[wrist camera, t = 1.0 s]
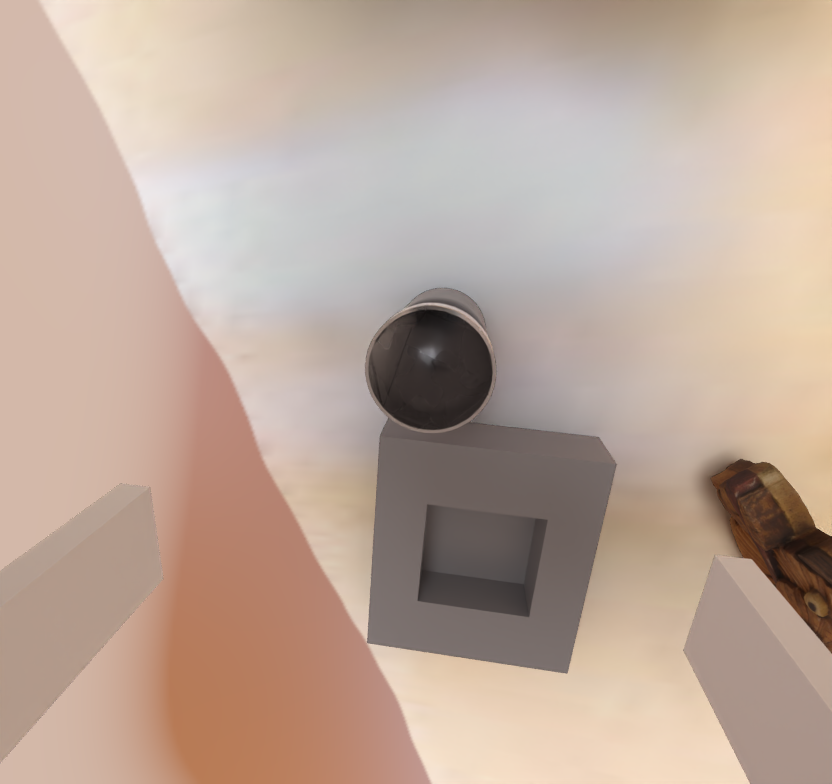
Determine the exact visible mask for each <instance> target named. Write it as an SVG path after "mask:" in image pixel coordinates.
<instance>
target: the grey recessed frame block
mask: <svg viewBox="0 0 832 784" xmlns="http://www.w3.org/2000/svg"><path fill="white" fill-rule="evenodd" d="M615 468H616V463H615V461H614V460H613V458H612V457H611V455H610V454H609V452H608V451H607V449H606V448H605V446H604V445H603V443H602V442H601V440H600V439H599V437H592V436H583V435H574V434H566V433H557V432H548V431H539V430H530V429H522V428H513V427H504V426H495V425H487V424H478V423H469V422H468V423H466V424H465V425H463V426H461V427H459V428H457V429H454V430H451V431H447V432H441V433H423V432H417V431H413V430H410V429H407V428H405V427H403V426H401V425H399V424H397V423H396V422H394V421H393V420H391V419H390V418H389V417H388V420H387V422H386V424H385V426H384V428H383V431H382V433H381V435H380V442H379V459H378V475H377V491H376V508H375V524H374V540H373V556H372V573H371V589H370V605H369V622H368V638H367V643H370V644H376V645H383V646H390V647H396V648H403V649H409V650H416V651H422V652H429V653H436V654H442V655H449V656H455V657H462V658H468V659H475V660H481V661H488V662H495V663H501V664H508V665H514V666H521V667H527V668H534V669H541V670H547V671H554V672H560V673H568V669H569V664H570V660H571V656H572V652H573V647H574V643H575V639H576V635H577V630H578V626H579V622H580V617H581V613H582V609H583V605H584V600H585V596H586V592H587V588H588V583H589V579H590V575H591V571H592V566H593V562H594V558H595V554H596V549H597V545H598V541H599V537H600V532H601V528H602V524H603V520H604V515H605V511H606V507H607V503H608V498H609V494H610V490H611V485H612V481H613V477H614V473H615Z"/></svg>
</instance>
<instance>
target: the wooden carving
mask: <svg viewBox="0 0 832 784" xmlns="http://www.w3.org/2000/svg"><path fill="white" fill-rule="evenodd" d="M711 480H712V483H713V485H714V486H715V487H716V489H717V494H718V497H719V499H720V501H721V502H722V504H723V506H724V507H725V509H726V510H727V511H728V512H729V513H730V514H731V515H732V516H731V518H730V525H731V528H732V532H733V535H734V537H735V540H736V542H737V545H738V547H739V549H740V552H741V553H742V556H743V557H744V558H746V559H752V560H753V561H754V563H755V564H756V565H757V566H758V567H759V568H760V570H761V571H762V572H763V573H764V574H765V576H766V577H767V578H768V579H769V580H770V581H771V583H772V584H773V585H774V586H775V587H776V589H777V590H778V591H779V592H780V593H781V594H782V596H783V597H784V598H785V599H786V600H787V602H788V603H789V604H790V605H791V606H792V607H793V609H794V610H795V611H796V612H797V613H798V615H799V616H800V617H801V618H802V619H803V620H804V622H805V623H806V624H807V625H808V626H809V628H810V629H811V630H812V631H813V632H814V633H815V635H816V636H817V637H818V638H819V639H820V641H821V642H822V643H823V644H824V645H825V646H826V648H827V649H828V650H829V651H830V652H831V654H832V536H829V535H827V534H825V533H824V532H822V531H820V530H819V529H817V528H816V527H815V524H814V521H813V519H812V517H811V516H810V514H809V512H808V509H807V507H806V506H805V504H804V503H803V502H802V500H801V498H800V496H799V495H798V493H797V492H796V491H795V489H794V488H793V487H792V486H791V485H790V483H789V482H788V481H787V480H786V479H785V478H784V477H783V475H782V474H781V473H780V471H779V470H778V469H777V468H775V467H774V466H773V465H771V464H770V463H766V462H761V463H756V464H755V463H752V462H750V461H746V460H743V459H740V460H738V461H737V462H735V463H734V464H732V465H730V466H729V467H727V468H726V470H725V471H723V472H721V473H719V474H717V475H715V476H713V477H711Z"/></svg>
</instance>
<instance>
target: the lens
mask: <svg viewBox="0 0 832 784" xmlns="http://www.w3.org/2000/svg"><path fill="white" fill-rule="evenodd" d="M365 375H366V381H367V385H368V388H369V391H370V393H371V396H372V398H373V399H374V401H375V403H376V404H377V406H378V407H379V408H380V409H381V411H382V412H383V413H384V414H385V415H386V416H387V417H389V418H390V419H391V420H393V421H394V422H396V423H397V424H399V425H401V426H403V427H405V428H407V429H410V430H413V431H417V432H423V433H441V432H447V431H451V430H454V429H457V428H459V427H461V426H463V425H465V424H466V423H468V422H470V421H471V420H472V419H473V418H475V417H476V416H477V415H478V414H479V413H480V412H481V411H482V410H483V408H484V407H485V405H486V404H487V402H488V401H489V399H490V397H491V394H492V392H493V389H494V385H495V380H496V361H495V357H494V352H493V348H492V345H491V342H490V340H489V338H488V336H487V332H486V326H485V321H484V317H483V315H482V312H481V310H480V309H479V307H478V306H477V304H476V303H475V302H474V301H473V300H472V299H471V298H470V297H469V296H467V295H466V294H464V293H462V292H460V291H458V290H454V289H450V288H435V289H431V290H428V291H425V292H423V293H421V294H420V295H418V296H417V297H416V298H414V299H413V300H412V301H411V302H410V303H409V304H408V305H407V306H406V307H405V308H404V309H403V310H401V311H399V312H398V313H396V314H395V315H394V316H392V317H391V318H390V319H389V320H388V321H387V322H386V323H385V324H384V325H383V326H382V327H381V328H380V329H379V330H378V332H377V333H376V334H375V336H374V338H373V339H372V341H371V343H370V346H369V348H368V352H367V356H366V363H365Z"/></svg>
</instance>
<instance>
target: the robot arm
mask: <svg viewBox="0 0 832 784" xmlns="http://www.w3.org/2000/svg"><path fill="white" fill-rule="evenodd" d="M162 579H163V573H162V566H161V559H160V552H159V545H158V538H157V531H156V524H155V517H154V510H153V503H152V496H151V489H150V487H146V486H138V485H129V484H119V485H118V486H116V487H115V488H114V489H112V490H111V491H110V492H108V493H107V494H105V495H104V496H103V497H101V498H100V499H99V500H97V501H96V502H94V503H93V504H92V505H90V506H89V507H87V508H86V509H85V510H83V511H82V512H81V513H79V514H78V515H76V516H75V517H74V518H72V519H71V520H70V521H68V522H67V523H65V524H64V525H63V526H61V527H60V528H59V529H57V530H56V531H54V532H53V533H52V534H50V535H49V536H48V537H46V538H45V539H43V540H42V541H41V542H39V543H38V544H36V545H35V546H34V547H32V548H31V549H29V550H28V551H27V552H25V553H24V554H23V555H21V556H20V557H19V558H17V559H16V560H14V561H13V562H12V563H10V564H9V565H7V566H6V567H5V568H3V569H2V570H1V571H0V763H1V762H2V761H3V760H4V759H5V758H6V757H7V755H8V754H9V753H10V752H11V751H12V750H13V749H14V747H15V746H16V745H17V744H18V743H19V742H20V740H22V738H23V737H24V736H25V735H26V734H27V733H28V732H29V730H30V729H31V728H32V727H33V726H34V725H35V724H36V723H37V721H38V720H39V719H40V718H41V717H42V716H43V715H44V713H45V712H46V711H47V710H48V709H49V708H50V707H51V706H52V704H53V703H54V702H55V701H56V700H57V699H58V697H59V696H60V695H61V694H62V693H63V692H64V691H65V690H66V688H67V687H68V686H69V685H70V684H71V683H72V682H73V681H74V679H75V678H76V677H77V676H78V675H79V674H80V673H81V672H82V670H83V669H84V668H85V667H86V666H87V665H88V664H89V662H90V661H91V660H92V659H93V658H94V657H95V656H96V655H97V653H98V652H99V651H100V650H101V649H102V648H103V647H104V645H105V644H106V643H107V642H108V641H109V640H110V639H111V638H112V636H113V635H114V634H115V633H116V632H117V631H118V630H119V628H120V627H121V626H122V625H123V624H124V623H125V622H126V621H127V619H128V618H129V617H130V616H131V615H132V614H133V613H134V611H135V610H136V609H137V608H138V607H139V606H140V605H141V603H142V602H143V601H144V600H145V599H146V598H147V597H148V596H149V595H150V593H151V592H152V591H153V590H154V589H155V588H156V586H157V585H158V584H159V583H160V582H161V581H162ZM683 651H684V653H685V655H686V656H687V658H688V660H689V662H690V664H691V666H692V668H693V670H694V672H695V674H696V676H697V678H698V680H699V682H700V684H701V686H702V688H703V690H704V692H705V694H706V696H707V698H708V700H709V702H710V704H711V706H712V708H713V710H714V712H715V714H716V716H717V718H718V720H719V722H720V724H721V726H722V728H723V730H724V732H725V734H726V736H727V738H728V740H729V742H730V744H731V746H732V748H733V750H734V752H735V754H736V756H737V758H738V760H739V762H740V764H741V766H742V768H743V770H744V772H745V774H746V776H747V778H748V780H749V782H750V784H832V654H831V652H830V651H829V650H828V649H827V648H826V646H825V645H824V644H823V643H822V642H821V641H820V639H819V638H818V637H817V636H816V635H815V633H814V632H813V631H812V630H811V629H810V628H809V626H808V625H807V624H806V623H805V622H804V620H803V619H802V618H801V617H800V616H799V615H798V613H797V612H796V611H795V610H794V609H793V607H792V606H791V605H790V604H789V603H788V602H787V600H786V599H785V598H784V597H783V596H782V594H781V593H780V592H779V591H778V590H777V589H776V587H775V586H774V585H773V584H772V583H771V581H770V580H769V579H768V578H767V577H766V576H765V574H764V573H763V572H762V571H761V570H760V568H759V567H758V566H757V565H756V564H755V563H754V561H753V560H752V559H746V558H737V557H729V556H721V555H715V556H714V559H713V562H712V565H711V568H710V571H709V574H708V577H707V580H706V583H705V586H704V589H703V592H702V595H701V598H700V601H699V604H698V607H697V610H696V613H695V616H694V619H693V622H692V625H691V628H690V632H689V635H688V638H687V641H686V644H685V647H684V650H683Z"/></svg>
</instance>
